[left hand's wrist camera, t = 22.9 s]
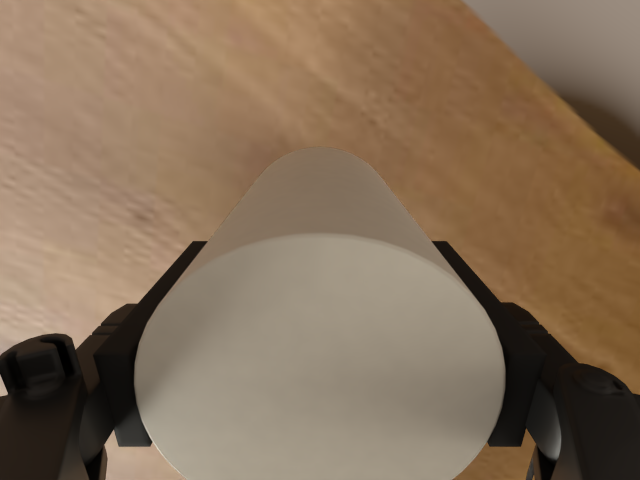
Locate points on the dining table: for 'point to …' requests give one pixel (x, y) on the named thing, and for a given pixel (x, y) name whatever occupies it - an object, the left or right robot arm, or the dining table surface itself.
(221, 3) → the dining table surface
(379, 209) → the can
